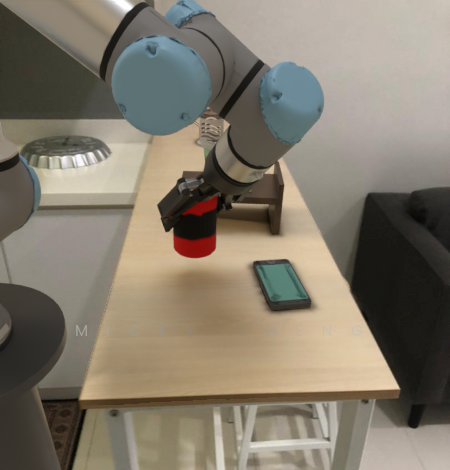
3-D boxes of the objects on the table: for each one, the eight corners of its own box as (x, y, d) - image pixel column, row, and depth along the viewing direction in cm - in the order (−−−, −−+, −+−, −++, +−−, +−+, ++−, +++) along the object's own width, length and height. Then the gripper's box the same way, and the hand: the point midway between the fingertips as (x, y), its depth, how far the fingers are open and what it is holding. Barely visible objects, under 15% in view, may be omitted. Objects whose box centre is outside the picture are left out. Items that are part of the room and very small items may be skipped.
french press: (223, 148, 149) (225, 61, 134) (188, 145, 150) (186, 59, 136) (228, 139, 157) (231, 56, 142) (195, 136, 158) (194, 54, 144)
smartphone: (287, 257, 91) (312, 301, 79) (287, 263, 92) (311, 307, 80) (251, 260, 90) (271, 304, 78) (251, 265, 91) (270, 311, 79)
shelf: (178, 231, 101) (176, 180, 95) (183, 204, 113) (182, 157, 106) (278, 234, 102) (284, 184, 95) (274, 207, 113) (278, 161, 106)
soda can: (221, 242, 85) (223, 180, 78) (207, 262, 80) (209, 196, 73) (183, 235, 87) (182, 173, 80) (166, 254, 81) (164, 189, 74)
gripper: (181, 198, 58) (139, 252, 79) (307, 172, 67) (240, 227, 88) (161, 143, 59) (125, 211, 79) (289, 125, 68) (227, 191, 88)
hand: (185, 220), depth 83 cm, fingers closed on soda can, 7 cm apart
